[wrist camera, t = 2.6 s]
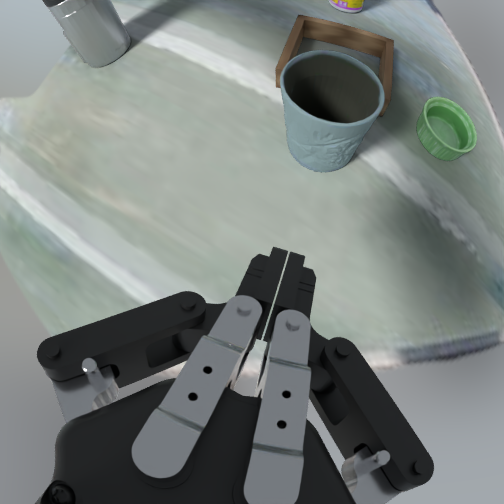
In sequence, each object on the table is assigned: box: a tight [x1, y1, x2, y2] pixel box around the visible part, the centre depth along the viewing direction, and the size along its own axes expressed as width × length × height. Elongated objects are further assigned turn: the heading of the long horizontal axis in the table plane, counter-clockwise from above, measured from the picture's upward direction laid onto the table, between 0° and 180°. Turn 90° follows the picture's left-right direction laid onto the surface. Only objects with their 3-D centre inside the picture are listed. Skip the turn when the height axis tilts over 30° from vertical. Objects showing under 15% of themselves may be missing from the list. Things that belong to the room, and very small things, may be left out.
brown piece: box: [276, 15, 394, 117], centre depth 36 cm, size 15×14×4 cm
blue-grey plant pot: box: [280, 50, 385, 172], centre depth 30 cm, size 10×10×12 cm
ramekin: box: [417, 97, 477, 161], centre depth 33 cm, size 9×9×4 cm
